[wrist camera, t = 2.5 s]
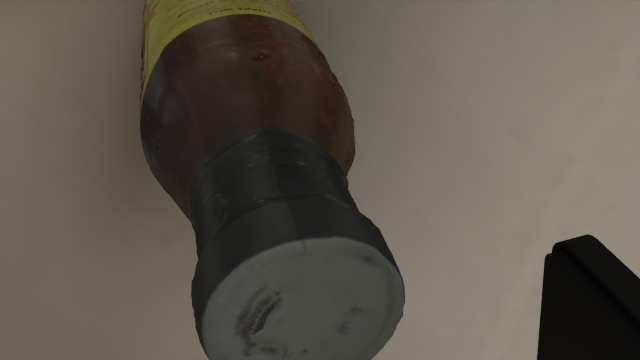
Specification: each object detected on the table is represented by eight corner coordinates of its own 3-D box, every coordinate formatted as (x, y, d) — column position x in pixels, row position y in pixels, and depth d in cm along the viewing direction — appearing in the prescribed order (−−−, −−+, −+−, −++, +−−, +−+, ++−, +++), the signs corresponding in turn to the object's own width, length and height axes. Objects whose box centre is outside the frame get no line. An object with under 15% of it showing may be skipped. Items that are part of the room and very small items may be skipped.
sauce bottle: (115, -3, 26) (12, 302, 9) (229, -87, 25) (342, 78, 9) (206, 107, 29) (252, 471, 13) (310, 35, 29) (501, 322, 12)
